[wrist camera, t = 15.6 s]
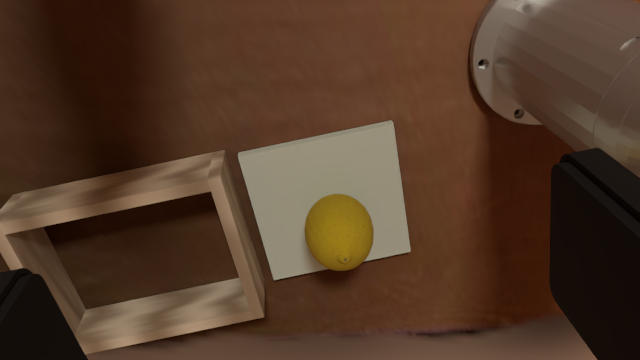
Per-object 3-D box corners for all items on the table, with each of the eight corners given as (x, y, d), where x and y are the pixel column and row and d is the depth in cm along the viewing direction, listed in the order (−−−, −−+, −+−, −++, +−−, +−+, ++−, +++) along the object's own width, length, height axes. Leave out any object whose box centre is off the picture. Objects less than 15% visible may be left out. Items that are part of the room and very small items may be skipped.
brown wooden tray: (224, 149, 45) (220, 177, 40) (264, 281, 51) (264, 317, 47) (13, 194, 45) (-15, 226, 40) (79, 319, 51) (62, 359, 47)
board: (391, 120, 45) (393, 123, 44) (408, 246, 51) (410, 251, 50) (238, 152, 45) (237, 156, 44) (273, 275, 51) (273, 280, 50)
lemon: (357, 236, 49) (371, 293, 42) (296, 228, 48) (301, 285, 41) (372, 183, 46) (390, 233, 39) (308, 173, 45) (315, 223, 38)
